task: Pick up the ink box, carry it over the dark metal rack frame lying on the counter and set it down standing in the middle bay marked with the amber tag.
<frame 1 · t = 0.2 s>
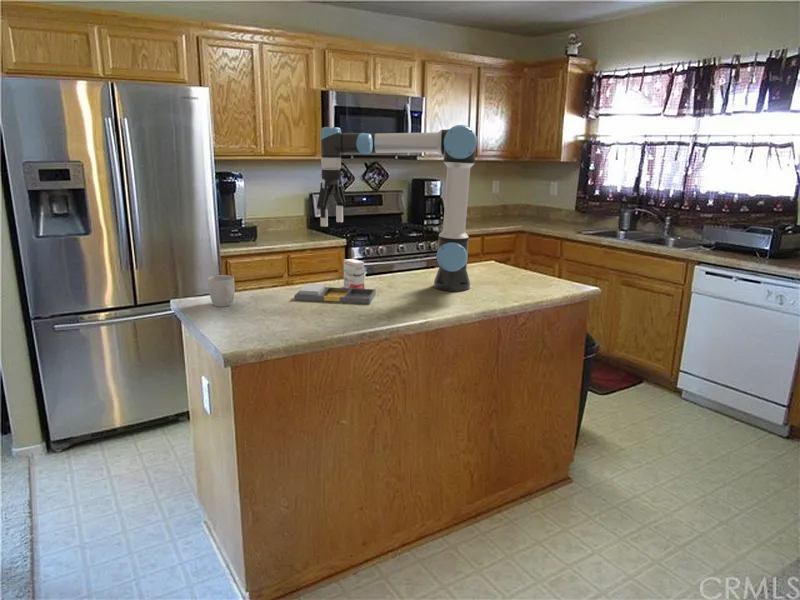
hand: (332, 224, 218), 27 cm above the countertop, fingers open, 13 cm apart
ink box: (354, 288, 227), on the countertop
rack: (336, 297, 213), on the countertop
installed panel: (312, 296, 214), resting on rack
mug: (225, 306, 200), on the countertop
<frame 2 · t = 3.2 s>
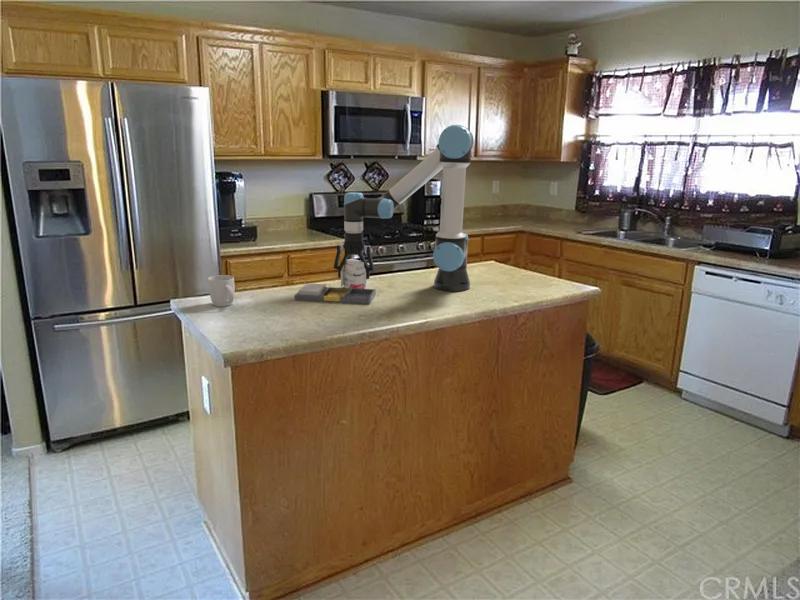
hand: (354, 286, 227), 1 cm above the countertop, fingers closed on ink box, 9 cm apart
ink box: (354, 288, 227), on the countertop, touching gripper
everything else where it was.
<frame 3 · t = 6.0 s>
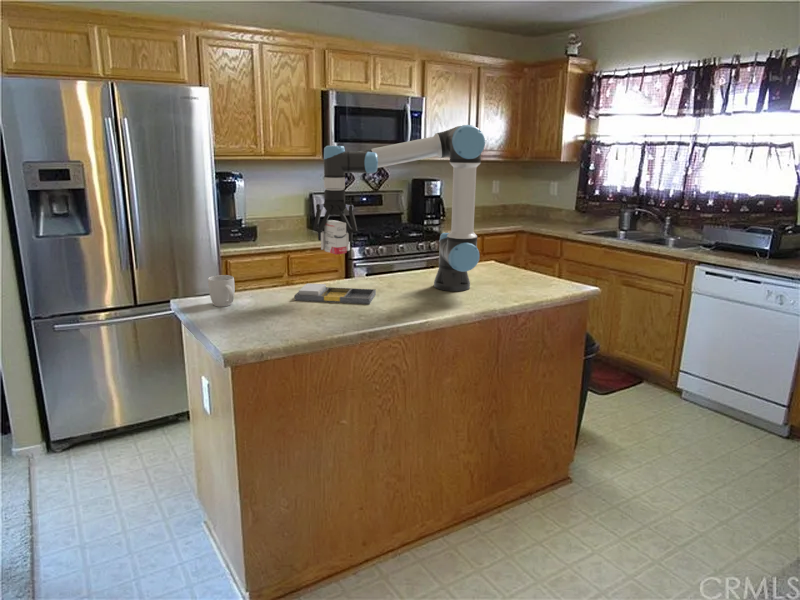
hand: (335, 249, 208), 19 cm above the countertop, fingers closed on ink box, 9 cm apart
ink box: (335, 252, 208), point 18 cm above the countertop, touching gripper
everything else where it was.
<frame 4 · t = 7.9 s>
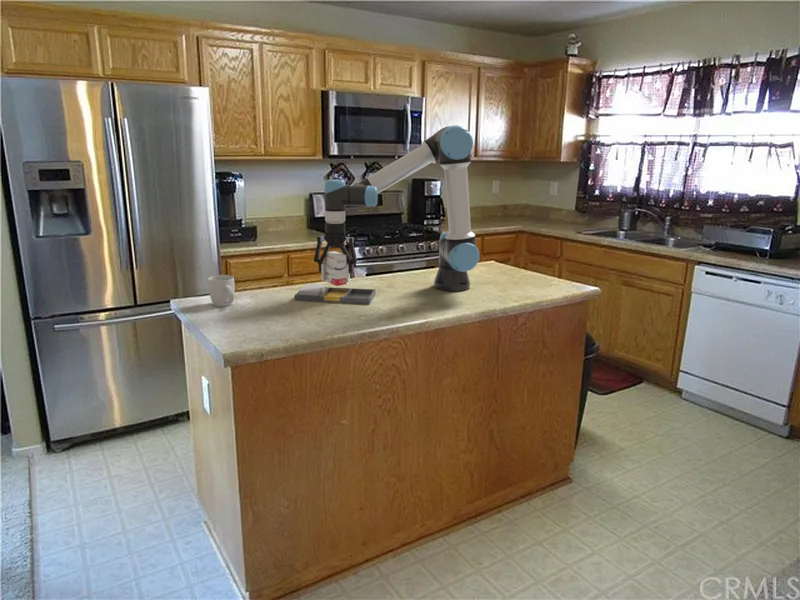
hand: (335, 280, 211), 7 cm above the countertop, fingers closed on ink box, 9 cm apart
ink box: (335, 283, 212), point 5 cm above the countertop, touching gripper
everything else where it was.
when the fingers open (3 cm above the countertop, at t = 9.2 s): ink box stays where it is, resting on rack.
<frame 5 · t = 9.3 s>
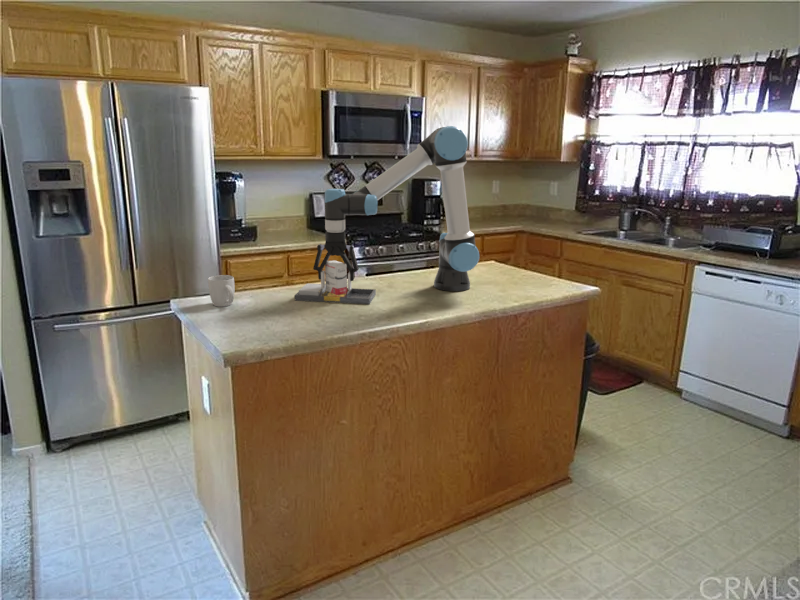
hand: (336, 288, 212), 4 cm above the countertop, fingers open, 10 cm apart
ink box: (336, 292, 213), point 2 cm above the countertop, touching rack
everything else where it was.
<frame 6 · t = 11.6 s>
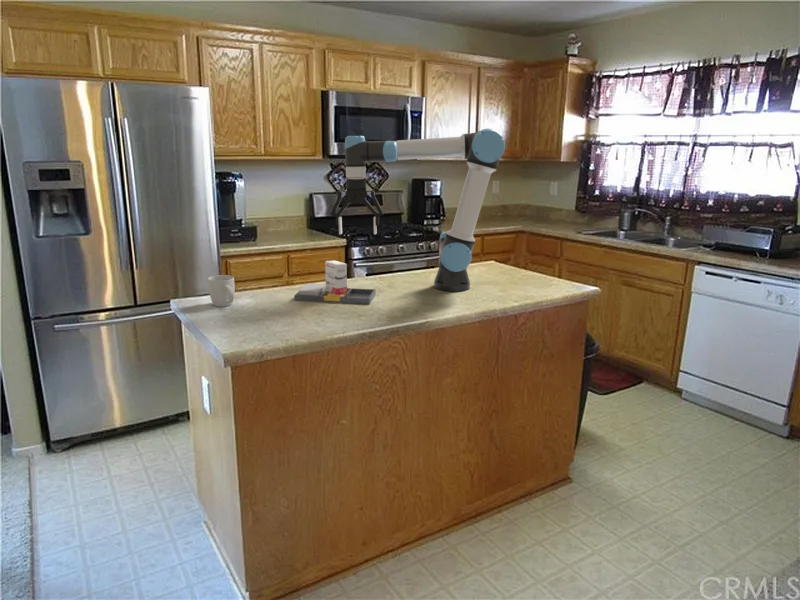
hand: (357, 234, 214), 24 cm above the countertop, fingers open, 13 cm apart
nothing on the countertop moved.
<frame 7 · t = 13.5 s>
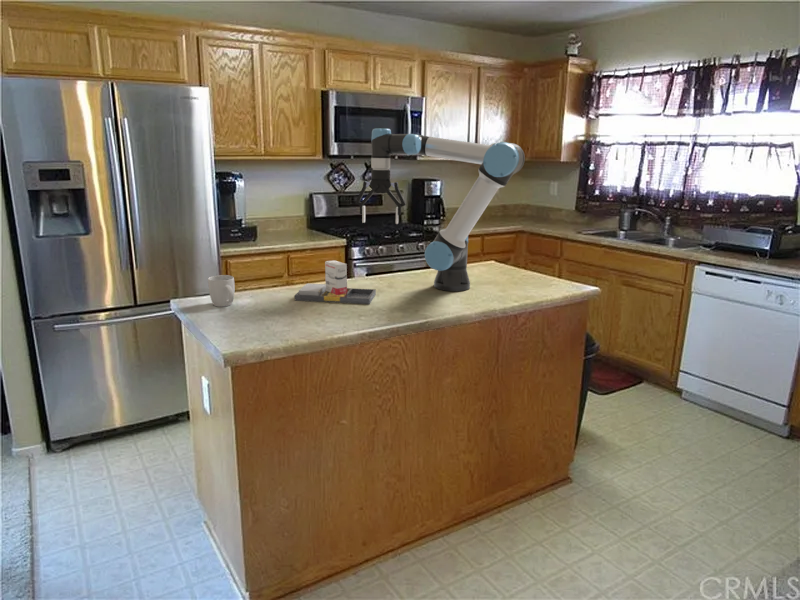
hand: (380, 222, 223), 27 cm above the countertop, fingers open, 13 cm apart
nothing on the countertop moved.
at the end: ink box inside the target area on the rack (0.1 cm from its centre), point 1.9 cm above the rack's base; ink box tilted 0°; the gripper is holding nothing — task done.
